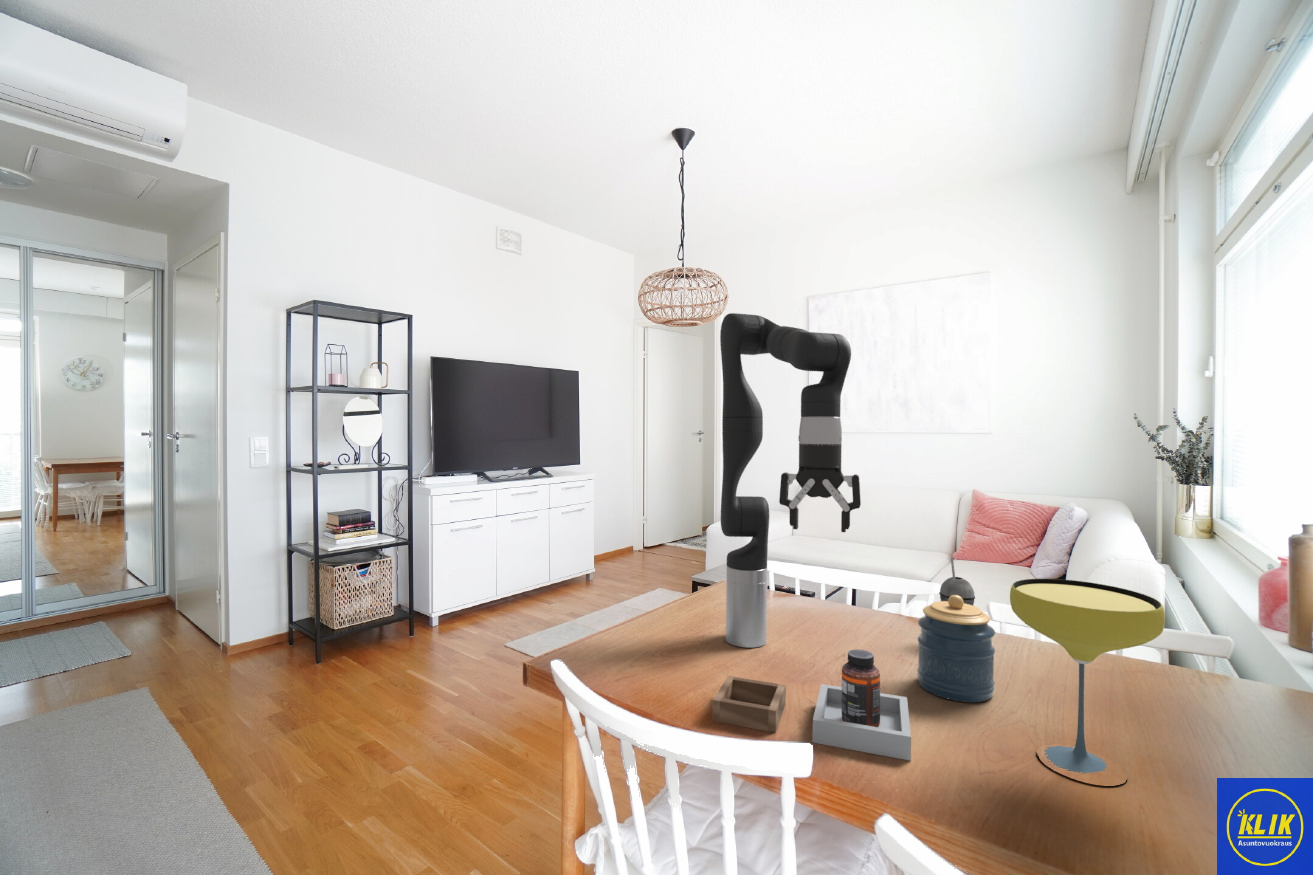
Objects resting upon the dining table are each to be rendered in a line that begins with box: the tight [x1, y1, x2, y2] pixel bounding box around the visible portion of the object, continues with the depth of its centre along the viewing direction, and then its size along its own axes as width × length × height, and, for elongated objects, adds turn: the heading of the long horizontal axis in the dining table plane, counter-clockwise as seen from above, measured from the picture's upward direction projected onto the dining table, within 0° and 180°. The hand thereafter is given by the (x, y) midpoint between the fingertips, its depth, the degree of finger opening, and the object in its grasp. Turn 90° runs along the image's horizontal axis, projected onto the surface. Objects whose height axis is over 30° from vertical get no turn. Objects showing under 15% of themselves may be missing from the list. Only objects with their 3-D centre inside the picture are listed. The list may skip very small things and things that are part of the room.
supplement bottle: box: [841, 648, 881, 727], centre depth 95 cm, size 6×6×11 cm
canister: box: [917, 595, 996, 703], centre depth 111 cm, size 13×13×18 cm
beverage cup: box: [939, 557, 976, 606], centre depth 133 cm, size 7×7×20 cm
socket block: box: [712, 675, 787, 733], centre depth 101 cm, size 10×10×4 cm
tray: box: [812, 683, 912, 762], centre depth 95 cm, size 14×14×4 cm
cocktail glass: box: [1009, 578, 1166, 774], centre depth 86 cm, size 18×18×25 cm
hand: (819, 530), depth 108 cm, fingers open, 8 cm apart
